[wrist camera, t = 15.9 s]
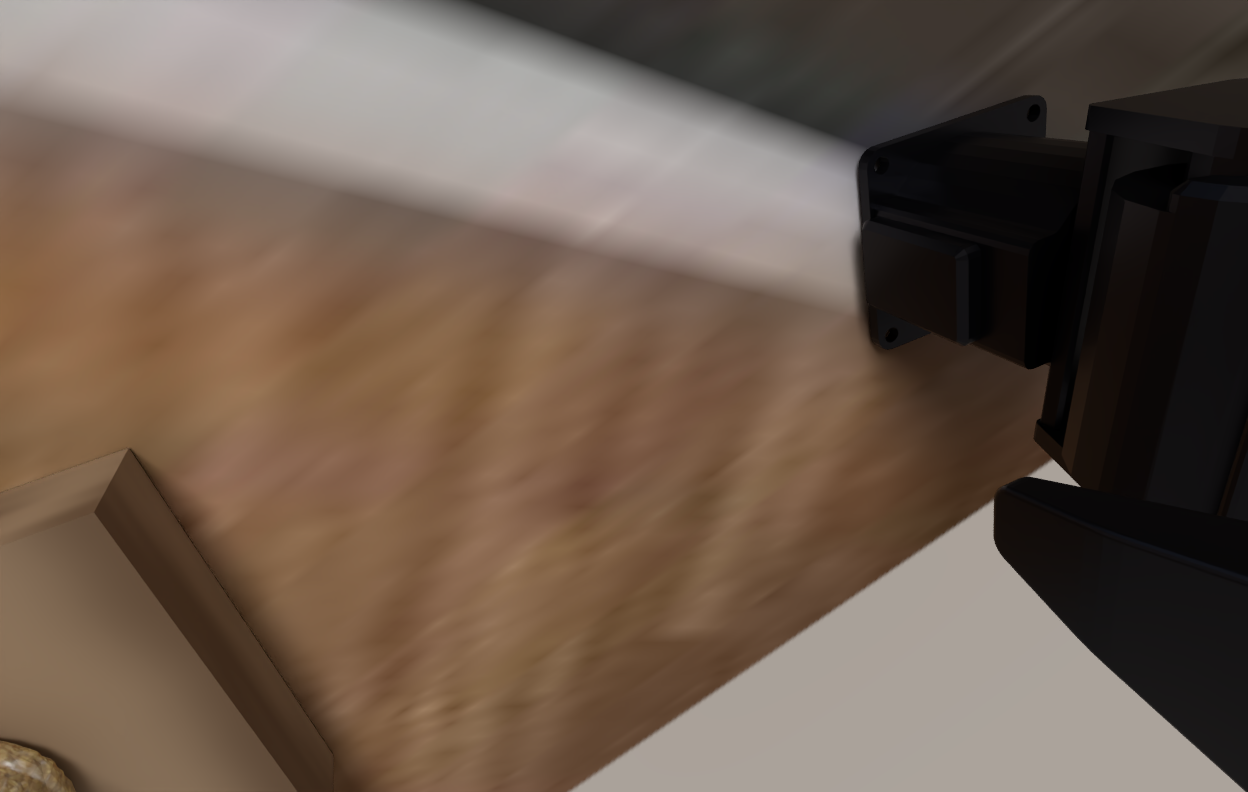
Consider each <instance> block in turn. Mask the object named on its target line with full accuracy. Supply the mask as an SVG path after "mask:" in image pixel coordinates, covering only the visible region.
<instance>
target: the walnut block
mask: <svg viewBox="0 0 1248 792" xmlns="http://www.w3.org/2000/svg"><path fill="white" fill-rule="evenodd" d="M0 741H5V742H9V743H14V744H17V745H20V746H22V747H26V748H29V749H32V750H35V751H37V752H39V753H40V755H41V756H44V757H47V758H50V759H52V760H53V761H54V762H55V764H56V765H57V767H58V768H59V769H61V770H63V772H64V775H65V776H66V777H67V778H68V779H70V780H71V781H72V784H73V786H74V789H75V791H76V792H333V754H332V753H331V751H330V750H329V748H328V747H327V745H326V744H325V742H324V741H323V739H322V738H321V736H320V735H319V733H318V732H317V730H316V729H315V727H314V726H313V724H312V723H311V721H310V719H309V718H308V716H307V715H306V713H305V712H304V710H303V709H302V707H301V706H300V704H299V703H298V701H297V700H296V698H295V697H294V695H293V694H292V692H291V691H290V689H289V688H288V686H287V685H286V683H285V682H284V680H283V679H282V677H281V676H280V674H279V673H278V671H277V670H276V668H275V667H274V665H273V664H272V662H271V661H270V659H269V658H268V656H267V655H266V653H265V652H264V650H263V649H262V647H261V646H260V644H259V643H258V641H257V640H256V638H255V637H254V635H253V634H252V632H251V631H250V629H249V628H248V626H247V625H246V623H245V622H244V620H243V619H242V617H241V616H240V614H239V613H238V611H237V610H236V608H235V607H234V605H233V604H232V602H231V601H230V599H229V598H228V596H227V595H226V593H225V592H224V590H223V589H222V587H221V586H220V584H219V583H218V581H217V580H216V578H215V577H214V575H213V574H212V572H211V571H210V569H209V568H208V566H207V565H206V563H205V562H204V560H203V559H202V557H201V556H200V554H199V553H198V551H197V550H196V548H195V547H194V545H193V544H192V542H191V541H190V539H189V537H188V536H187V534H186V533H185V531H184V530H183V528H182V527H181V525H180V524H179V522H178V521H177V519H176V518H175V516H174V515H173V513H172V512H171V510H170V509H169V507H168V506H167V504H166V503H165V501H164V500H163V498H162V497H161V495H160V494H159V492H158V491H157V489H156V488H155V486H154V485H153V483H152V482H151V480H150V479H149V477H148V476H147V474H146V473H145V471H144V470H143V468H142V467H141V465H140V464H139V462H138V461H137V459H136V458H135V456H134V455H133V453H132V452H131V450H130V449H129V448H127V449H124V450H121V451H118V452H115V453H112V454H110V455H107V456H104V457H101V458H98V459H95V460H92V461H90V462H87V463H84V464H81V465H78V466H75V467H72V468H70V469H67V470H64V471H61V472H58V473H55V474H52V475H50V476H47V477H44V478H41V479H38V480H35V481H32V482H30V483H27V484H24V485H21V486H18V487H15V488H13V489H10V490H7V491H4V492H1V493H0Z"/></svg>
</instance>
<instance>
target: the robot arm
mask: <svg viewBox="0 0 1248 792" xmlns="http://www.w3.org/2000/svg"><path fill="white" fill-rule="evenodd" d="M1029 109H1030V111H1029V115H1028V117H1027V113H1028V110H1029ZM1046 114H1047V107H1046V102H1045V100H1044V98H1043V97H1041V96H1037V95H1024V96H1021V97H1018V98H1015V99H1012V100H1009V101H1006V102H1003V103H1000V104H997V105H994V106H991V107H988V108H985V109H982V110H979V111H976V112H973V113H970V114H967V115H964V116H961V117H958V118H955V119H952V120H949V121H947V122H944V123H941V124H938V125H935V126H932V127H929V128H926V129H923V130H920V131H917V132H914V133H911V134H908V135H905V136H902V137H899V138H896V139H893V140H890V141H887V142H884V143H881V144H878V145H875V146H872V147H870V148H869V149H867V150H866V151H865V152H864V153H863V155H862V156H861V159H860V161H859V182H860V195H861V209H862V222H863V228H862V243H863V256H864V270H865V283H866V296H867V302H868V303H869V317H870V330H871V338H872V341H873V342H874V343H875V344H876V345H878V346H880V347H882V348H884V349H887V350H888V349H893V348H895V347H898V346H900V345H903V344H905V343H908V342H910V341H913V340H915V339H917V338H920V337H922V336H925V335H927V334H930V333H933V334H936V335H938V336H940V337H942V338H945V339H947V340H949V341H951V342H954V343H956V344H958V345H960V346H966V345H968V344H971V345H973V346H976V347H978V348H980V349H983V350H985V351H987V352H990V353H992V354H994V355H997V356H999V357H1001V358H1003V359H1006V360H1008V361H1010V362H1013V363H1015V364H1017V365H1020V366H1022V367H1024V368H1027V369H1034V368H1036V367H1039V366H1041V365H1043V364H1046V365H1048V366H1050V368H1049V374H1048V380H1047V386H1046V392H1045V398H1044V404H1043V410H1042V416H1041V419H1038V420H1037V422H1036V427H1035V433H1034V440H1035V441H1036V442H1037V443H1038V444H1039V445H1040V446H1041V447H1042V448H1043V449H1044V450H1045V451H1046V452H1047V453H1048V454H1049V455H1050V456H1051V457H1052V458H1053V459H1054V460H1055V461H1056V462H1057V463H1058V464H1059V465H1060V466H1061V467H1062V468H1063V469H1064V470H1065V471H1066V472H1067V473H1068V474H1069V475H1070V476H1071V477H1072V478H1073V479H1074V480H1075V481H1076V482H1077V483H1078V484H1079V485H1080V486H1081V487H1077V486H1072V485H1068V484H1062V483H1058V482H1053V481H1048V480H1043V479H1038V478H1033V477H1023V478H1019V479H1017V480H1015V481H1013V482H1011V483H1009V484H1006V485H1004V486H1002V487H1000V488H999V489H998V490H997V492H996V493H995V496H994V541H995V544H996V547H997V549H998V551H999V552H1000V554H1001V555H1002V556H1003V558H1004V559H1005V560H1006V561H1007V562H1008V563H1009V564H1010V565H1011V566H1012V568H1014V570H1015V571H1016V572H1017V573H1018V574H1019V575H1020V576H1021V577H1022V578H1023V579H1024V580H1025V581H1026V583H1027V584H1028V585H1029V586H1030V587H1031V588H1032V589H1033V590H1034V591H1035V592H1036V593H1037V594H1038V596H1039V597H1040V598H1041V599H1042V600H1043V601H1044V602H1045V603H1046V604H1047V605H1048V606H1049V608H1050V609H1051V610H1052V611H1053V612H1054V613H1055V614H1056V615H1057V616H1058V617H1059V618H1060V619H1061V620H1062V622H1063V623H1064V624H1065V625H1066V626H1067V627H1068V628H1069V629H1070V630H1071V631H1072V632H1073V633H1074V635H1075V636H1076V637H1077V638H1078V639H1079V640H1080V641H1081V642H1082V643H1083V644H1084V645H1085V646H1086V647H1087V648H1088V649H1089V650H1090V651H1091V652H1092V653H1093V654H1094V655H1095V656H1096V657H1097V658H1099V659H1100V660H1101V661H1102V662H1103V663H1104V664H1105V665H1106V666H1107V667H1108V668H1109V669H1110V670H1111V671H1113V672H1114V673H1115V674H1116V675H1117V676H1118V677H1119V678H1120V679H1121V680H1122V681H1124V682H1125V683H1126V684H1127V685H1128V686H1129V687H1130V688H1131V689H1133V691H1135V692H1136V693H1137V694H1138V695H1139V696H1140V697H1141V698H1142V699H1144V700H1145V701H1146V702H1147V703H1148V704H1149V705H1150V706H1151V707H1152V708H1153V709H1155V710H1156V711H1157V712H1158V713H1159V714H1160V715H1161V716H1162V717H1163V718H1165V719H1166V720H1167V721H1168V722H1169V723H1170V724H1171V725H1172V726H1174V727H1175V728H1176V729H1177V730H1178V731H1179V732H1180V733H1181V734H1182V735H1183V736H1184V737H1186V738H1187V739H1188V740H1189V741H1190V742H1191V743H1192V744H1193V745H1195V746H1196V747H1197V748H1198V749H1199V750H1200V751H1201V752H1202V753H1203V754H1205V755H1206V756H1207V757H1208V758H1209V759H1210V760H1211V761H1212V762H1213V763H1214V764H1216V765H1217V766H1218V767H1219V768H1220V769H1221V770H1222V771H1223V772H1224V773H1225V774H1227V775H1228V776H1229V777H1230V778H1231V779H1232V780H1233V781H1234V782H1235V783H1237V784H1238V785H1239V786H1240V787H1241V788H1242V789H1243V790H1244V791H1245V792H1248V78H1244V79H1231V80H1225V81H1220V82H1214V83H1208V84H1202V85H1196V86H1191V87H1185V88H1179V89H1173V90H1167V91H1162V92H1156V93H1150V94H1144V95H1138V96H1133V97H1127V98H1121V99H1115V100H1110V101H1104V102H1098V103H1092V104H1089V109H1088V115H1087V121H1086V127H1085V129H1086V130H1089V131H1090V132H1089V138H1088V142H1085V141H1075V140H1064V139H1054V138H1045V136H1046ZM878 158H880V166H879V168H878V170H877V171H875V169H874V166H875V162H876V160H877V159H878ZM889 329H890V333H889V334H888V336H887V337H885V335H886V332H887V331H888V330H889Z"/></svg>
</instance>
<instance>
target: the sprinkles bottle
mask: <svg viewBox="0 0 1248 792" xmlns="http://www.w3.org/2000/svg"><path fill="white" fill-rule="evenodd" d="M0 792H76V791H75V789H74V786H73V784H72V781H71V780H70V779H68V778H67V777H66V776H65V775H64V772H63V770H61V769H59V768H58V767H57V765H56V764H55V762H54V761H53V760H52V759H50V758H47V757H44V756H41V755H40V753H39V752H37V751H35V750H32V749H29V748H26V747H22V746H20V745H17V744H14V743H9V742H5V741H0Z"/></svg>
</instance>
